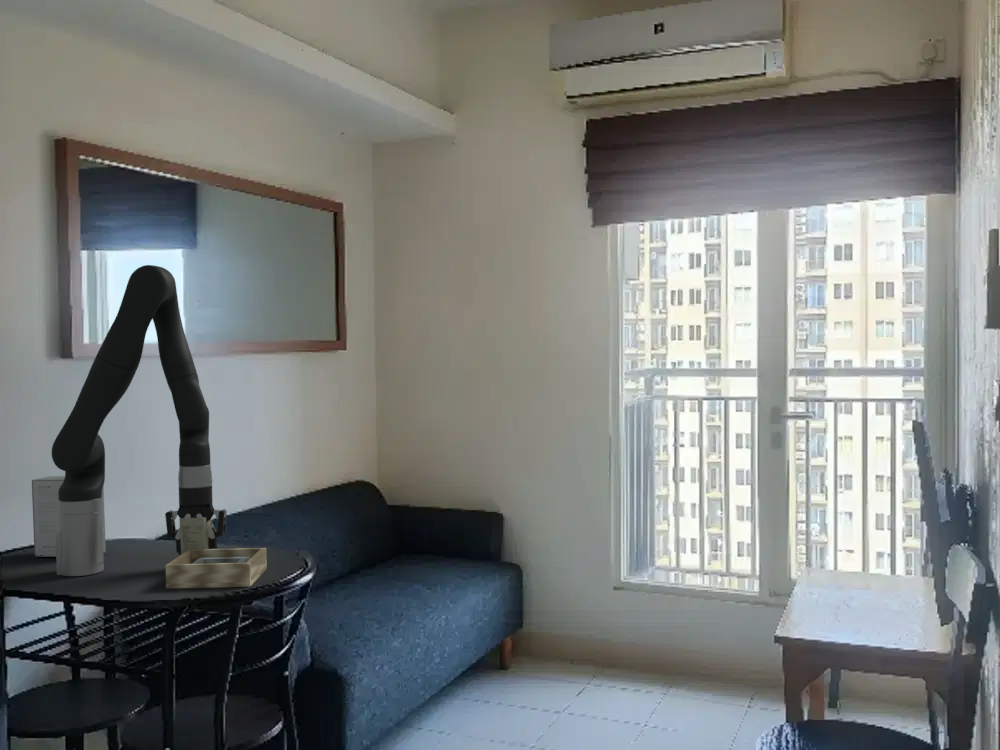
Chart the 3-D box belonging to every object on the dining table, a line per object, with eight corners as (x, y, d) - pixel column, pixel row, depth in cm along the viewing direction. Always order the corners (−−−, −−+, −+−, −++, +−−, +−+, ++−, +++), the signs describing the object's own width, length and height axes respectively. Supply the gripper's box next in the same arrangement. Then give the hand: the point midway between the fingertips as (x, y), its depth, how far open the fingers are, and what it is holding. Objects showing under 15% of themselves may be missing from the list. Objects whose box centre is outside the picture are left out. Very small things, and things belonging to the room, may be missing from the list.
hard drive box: (107, 552, 235) (105, 475, 234) (89, 559, 227) (87, 479, 227) (52, 551, 237) (49, 475, 237) (32, 558, 230) (30, 479, 229)
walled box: (166, 588, 197) (165, 565, 197) (189, 570, 213) (188, 549, 213) (250, 586, 198) (249, 563, 198) (266, 569, 214) (266, 547, 214)
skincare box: (214, 565, 218) (212, 514, 218) (206, 570, 214) (205, 518, 214) (188, 565, 219) (186, 514, 218) (180, 569, 214) (178, 517, 214)
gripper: (159, 487, 212) (161, 558, 212) (221, 485, 212) (223, 557, 213) (169, 482, 219) (171, 551, 220) (230, 481, 220) (231, 550, 220)
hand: (197, 554), depth 216 cm, fingers closed on skincare box, 6 cm apart
